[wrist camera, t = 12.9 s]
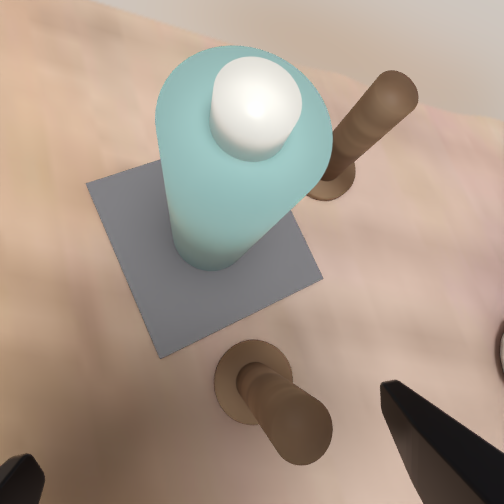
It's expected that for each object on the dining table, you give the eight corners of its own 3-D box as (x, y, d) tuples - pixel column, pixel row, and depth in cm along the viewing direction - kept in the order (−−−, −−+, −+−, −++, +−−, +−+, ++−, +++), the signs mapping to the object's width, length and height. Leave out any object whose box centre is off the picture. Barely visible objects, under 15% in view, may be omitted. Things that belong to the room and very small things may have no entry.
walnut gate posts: (276, 431, 20) (344, 521, 12) (202, 407, 20) (216, 483, 11) (358, 155, 25) (448, 74, 17) (301, 129, 25) (365, 31, 16)
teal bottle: (200, 285, 21) (232, 236, 7) (157, 222, 21) (106, 51, 7) (261, 245, 22) (389, 135, 8) (220, 185, 22) (280, -18, 8)
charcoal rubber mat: (160, 358, 20) (160, 359, 19) (87, 185, 21) (85, 183, 20) (321, 279, 23) (323, 278, 22) (251, 132, 24) (252, 129, 23)
